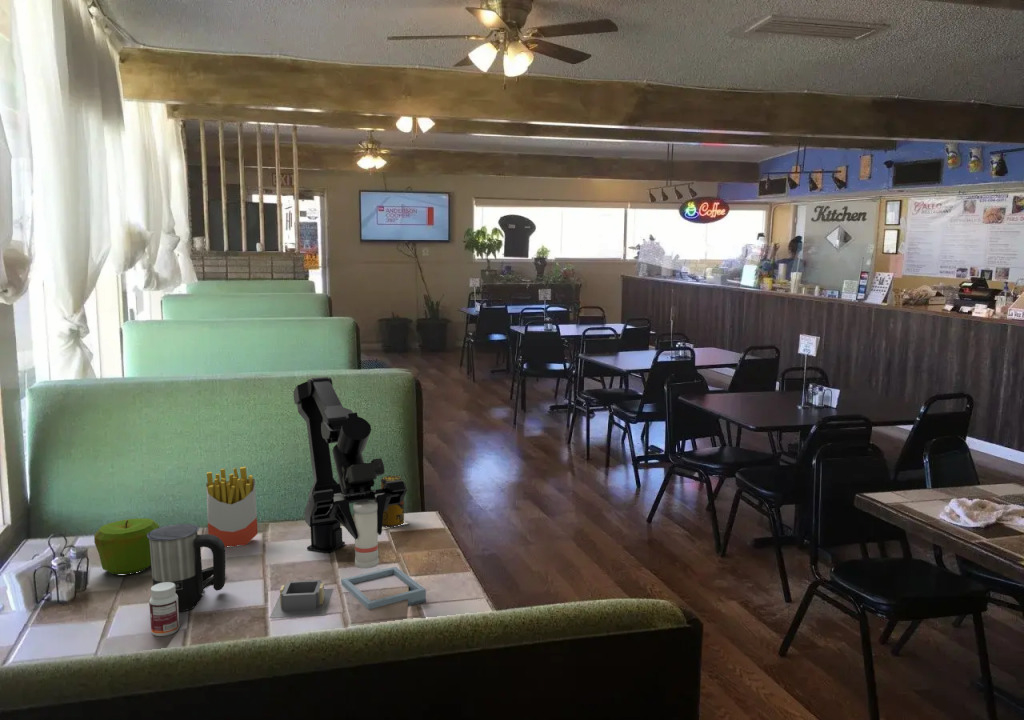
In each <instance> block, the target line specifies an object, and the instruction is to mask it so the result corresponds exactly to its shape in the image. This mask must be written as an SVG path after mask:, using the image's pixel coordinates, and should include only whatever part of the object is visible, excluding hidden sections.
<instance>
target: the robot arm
mask: <svg viewBox="0 0 1024 720" xmlns="http://www.w3.org/2000/svg"><path fill="white" fill-rule="evenodd" d="M293 402H294V404H295V405H296V407H297V412H298V414H299V416H301V417H302V419H303V420H304V421H305V422H306V429H307V439H308V447H309V454H310V462H311V470H312V477H313V483H312V486H311V488H310V490H309V493H308V495H307V497H308V500H307V501H306V505H305V509H304V520H305V523H306V524H307V525H308V527H310V545H308V546H307V547H306V549H307V550H309V551H316V552H322V553H332V552H334V551H335V550H337V549H339V548H340V547H342V546H344V545H346V542H345V541H344V540H343V528H342V527H341V525H342V526H343V527H344V528H345V529H346V530H347V531H348V533H349V534H350V536H352V538H353V539H354V540H355V539H357V537H358V535H357V530H356V526H355V523H354V517H353V515H352V512H351V508H350V504H355V503H357V502H361V501H374V502H376V503H377V509H378V510H377V528H378V536H381V535H382V532H383V530H382V522H383V512H384V510H385V509H386V508H387V506H390V505H396V504H400V503H402V501H403V499H404V498H405V496H406V494H407V491H408V487H407V485H406V482H405V481H404V480H403V479H402V480H394V481H387V482H385V484H384V486H383V489H381V488H377V489H373V488H372V487H374V486H375V484H376V483H375V480H377V479H378V478H377V477H378V476H382V475H384V474H385V472H386V471H385V465H384V462H383V459H382V457H380V458H373V459H372V460H371V461H370V462H365V460H364V457H363V452H365V449H366V446H367V443H368V440H369V439H370V435H371V431H372V426H371V424H370V423H369V421H367V420H366V419H364V418H363V417H361V416H359V415H358V412H353V410H351V409H349V408H347V407H344V406H343V404H342V402H341V400H340V398H339V396H338V395H337V393H336V390H335V388H334V387H333V380H332V378H331V377H328V376H320V377H311V378H309V379H307V381H304V382H303V383H300V384H298V385H297V386H295V388H294V390H293ZM330 444H335V445H334V446H333V448H332V451H331V450H330ZM331 453H332V456H333V460H334V461H333V462H334V465H335V469H336V473H337V477H338V480H337V481H336V479H335V478H334V474H333V465H332V459H331Z"/></svg>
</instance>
